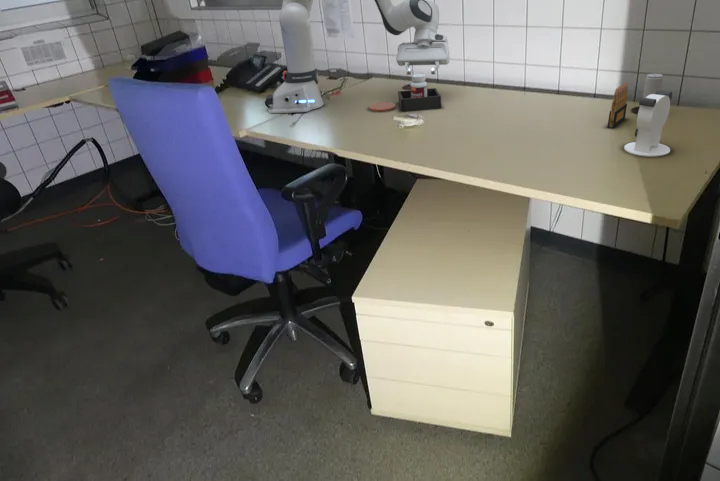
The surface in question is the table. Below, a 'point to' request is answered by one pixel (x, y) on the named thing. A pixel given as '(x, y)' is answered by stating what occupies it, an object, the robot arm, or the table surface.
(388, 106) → the coaster
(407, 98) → the black box
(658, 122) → the white disc-based upright fixture
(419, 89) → the pill bottle
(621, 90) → the brown panel in holder
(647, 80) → the beverage can
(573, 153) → the table surface
